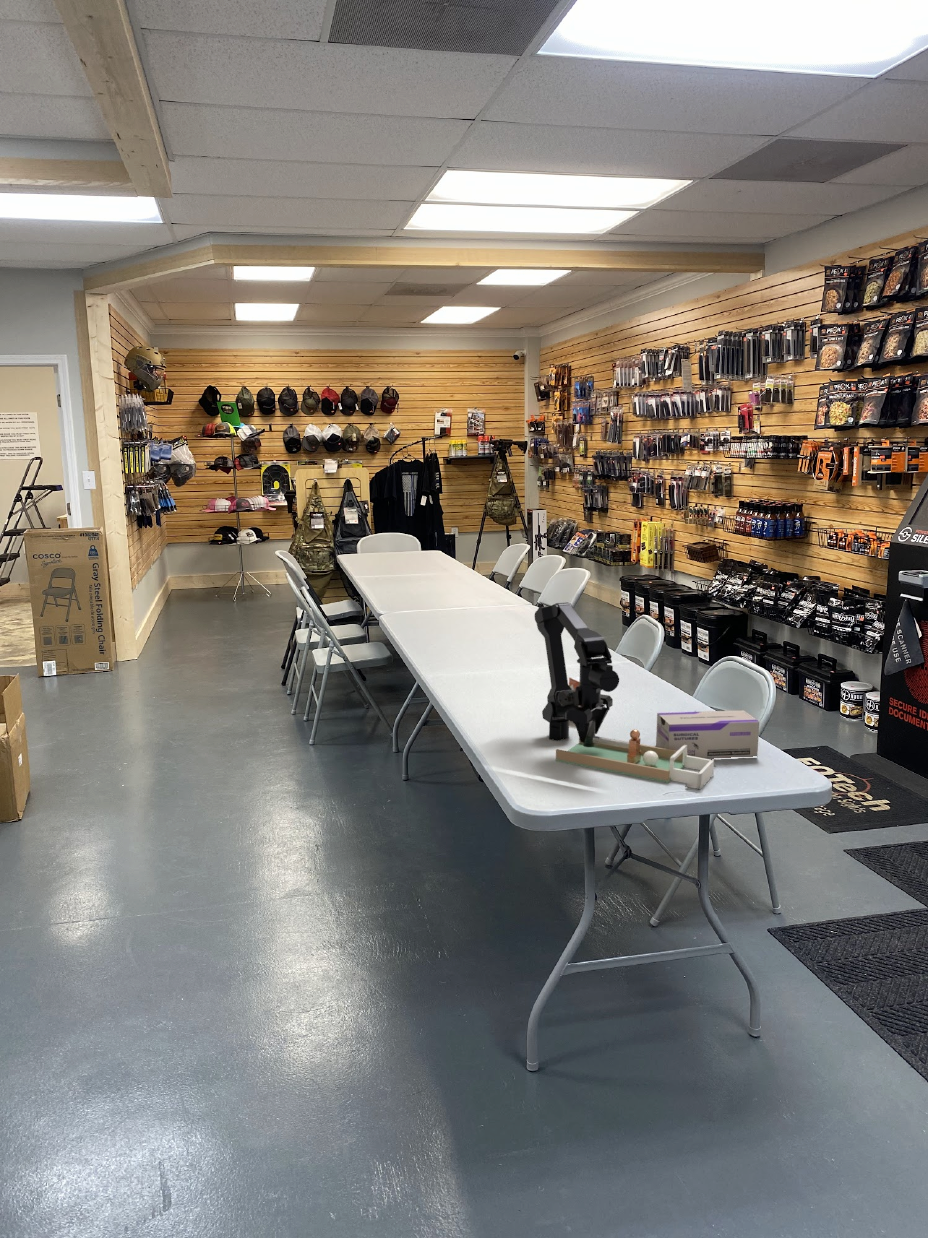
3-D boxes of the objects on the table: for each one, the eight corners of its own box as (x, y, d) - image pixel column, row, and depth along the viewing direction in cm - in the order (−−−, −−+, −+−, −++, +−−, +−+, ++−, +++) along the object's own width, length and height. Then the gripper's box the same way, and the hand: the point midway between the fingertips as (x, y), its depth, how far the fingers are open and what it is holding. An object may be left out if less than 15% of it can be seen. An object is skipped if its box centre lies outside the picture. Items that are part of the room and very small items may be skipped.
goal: (683, 769, 234) (684, 744, 232) (713, 775, 230) (714, 749, 228) (668, 783, 224) (670, 757, 223) (700, 789, 220) (701, 763, 219)
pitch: (580, 747, 251) (580, 733, 250) (687, 767, 235) (688, 752, 235) (555, 764, 238) (555, 750, 237) (667, 786, 222) (668, 771, 221)
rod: (586, 749, 244) (587, 717, 242) (642, 759, 236) (643, 726, 234) (579, 754, 240) (580, 722, 238) (635, 765, 232) (636, 731, 230)
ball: (645, 762, 235) (646, 747, 234) (660, 764, 233) (660, 750, 232) (640, 766, 232) (640, 752, 231) (655, 769, 229) (655, 754, 229)
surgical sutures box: (667, 762, 240) (669, 724, 238) (655, 749, 250) (657, 712, 248) (757, 759, 242) (759, 721, 240) (741, 746, 252) (743, 710, 250)
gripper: (576, 671, 249) (575, 724, 252) (547, 686, 234) (546, 742, 237) (614, 676, 244) (612, 730, 247) (586, 692, 228) (585, 750, 231)
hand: (588, 738), depth 240 cm, fingers open, 8 cm apart
